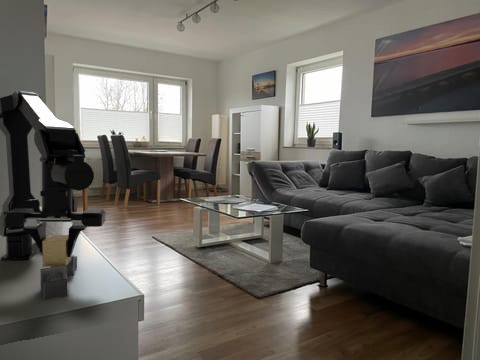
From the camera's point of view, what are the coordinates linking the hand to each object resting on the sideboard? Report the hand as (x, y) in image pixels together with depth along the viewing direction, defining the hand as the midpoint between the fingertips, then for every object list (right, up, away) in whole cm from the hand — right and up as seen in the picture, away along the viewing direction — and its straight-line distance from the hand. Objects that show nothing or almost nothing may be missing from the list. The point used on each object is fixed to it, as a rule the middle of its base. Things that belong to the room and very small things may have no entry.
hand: (57, 256), depth 78 cm
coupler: (0, -1, 0) cm, 1 cm away
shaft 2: (-1, -5, +6) cm, 8 cm away
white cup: (-18, -2, +30) cm, 35 cm away
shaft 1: (+2, -6, -5) cm, 8 cm away
